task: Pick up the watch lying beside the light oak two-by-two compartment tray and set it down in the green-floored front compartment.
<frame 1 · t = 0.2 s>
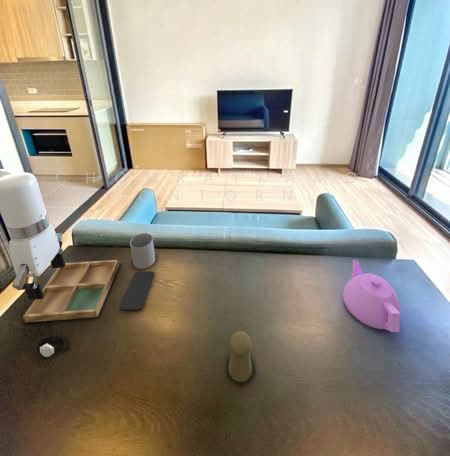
hand: (48, 281, 63), 22 cm above the table, tool pointing down, fingers open, 9 cm apart
watch: (53, 348, 69), on the table
olive pawn figure: (240, 368, 64), on the table
phone: (138, 290, 86), on the table
teapot: (368, 308, 79), on the table
cup: (144, 261, 99), on the table
tray: (78, 290, 86), on the table
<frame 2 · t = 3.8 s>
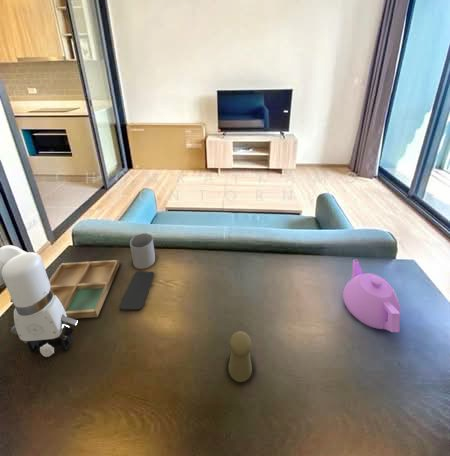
hand: (52, 345, 69), 1 cm above the table, tool pointing down, fingers closed on watch, 7 cm apart
watch: (53, 348, 69), on the table, touching gripper
everything else where it was.
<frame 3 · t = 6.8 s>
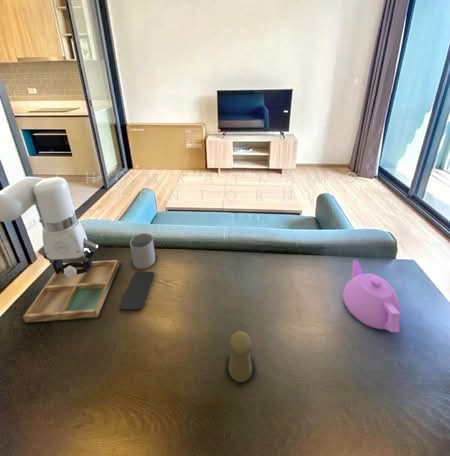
hand: (74, 269, 76), 15 cm above the table, tool pointing down, fingers closed on watch, 7 cm apart
watch: (75, 272, 76), point 14 cm above the table, touching gripper
everything else where it was.
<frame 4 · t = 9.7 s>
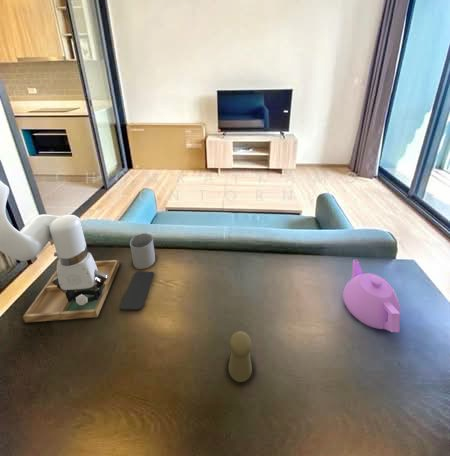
hand: (85, 297, 81), 2 cm above the table, tool pointing down, fingers closed on watch, 7 cm apart
watch: (86, 299, 82), point 1 cm above the table, touching gripper
everything else where it was.
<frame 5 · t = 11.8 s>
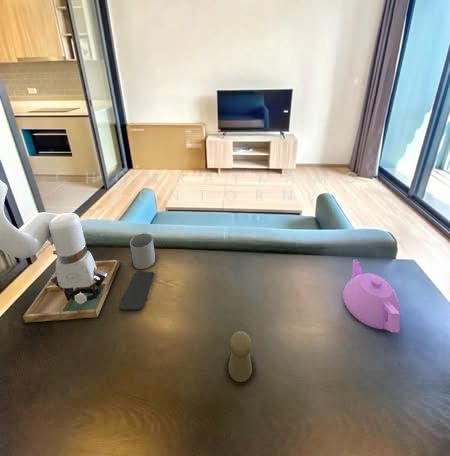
hand: (84, 295, 81), 3 cm above the table, tool pointing down, fingers closed on watch, 7 cm apart
watch: (84, 298, 81), point 2 cm above the table, touching gripper
everything else where it was.
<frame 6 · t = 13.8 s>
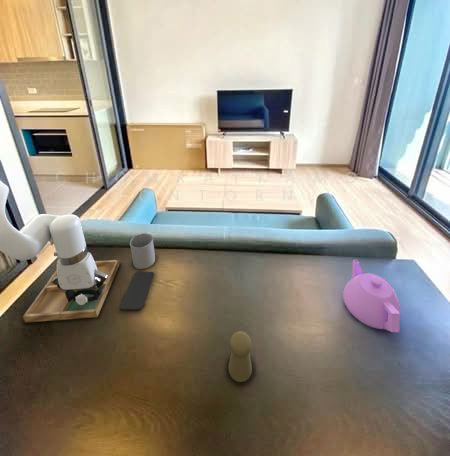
hand: (85, 296, 81), 2 cm above the table, tool pointing down, fingers closed on watch, 7 cm apart
watch: (85, 299, 82), point 1 cm above the table, touching gripper
everything else where it was.
when the fingers open (3 cm above the table, at t = 17.6 s): watch drops 1 cm, resting on tray.
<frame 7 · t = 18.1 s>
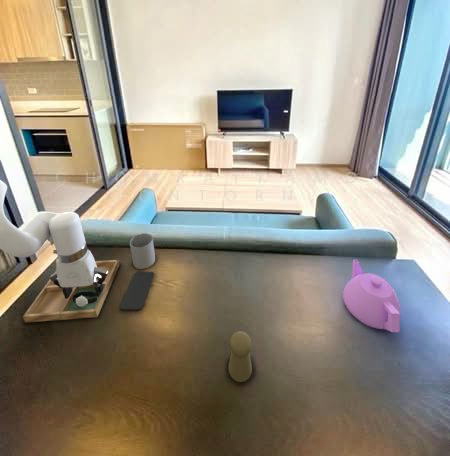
hand: (84, 293, 81), 4 cm above the table, tool pointing down, fingers open, 9 cm apart
watch: (86, 301, 82), point 1 cm above the table, touching tray
everything else where it was.
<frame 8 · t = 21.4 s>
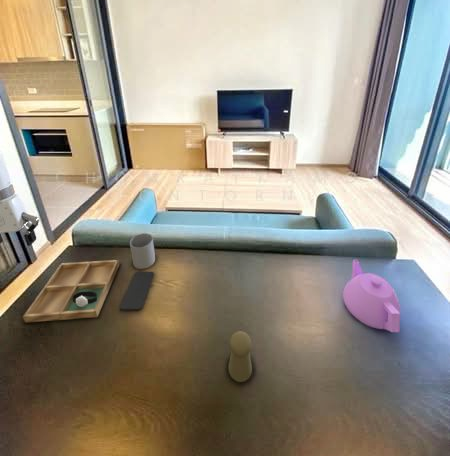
hand: (15, 243, 75), 23 cm above the table, tool pointing down, fingers open, 9 cm apart
nothing on the table moved.
at the end: watch 0.2 cm from the target spot in the tray, point 0.5 cm above the tray's base; the gripper is holding nothing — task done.
